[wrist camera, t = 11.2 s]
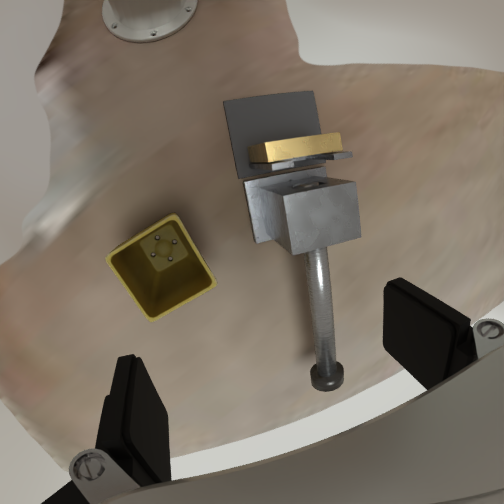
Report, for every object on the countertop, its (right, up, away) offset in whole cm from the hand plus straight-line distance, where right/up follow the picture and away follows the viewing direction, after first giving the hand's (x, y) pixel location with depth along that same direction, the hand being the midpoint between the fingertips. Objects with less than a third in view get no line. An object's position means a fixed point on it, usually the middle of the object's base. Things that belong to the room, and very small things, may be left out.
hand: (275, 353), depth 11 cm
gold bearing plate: (+3, +17, +28) cm, 32 cm away
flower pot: (-12, +4, +29) cm, 31 cm away
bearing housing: (+4, +10, +30) cm, 32 cm away
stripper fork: (+3, +15, +29) cm, 33 cm away
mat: (+2, +19, +27) cm, 33 cm away
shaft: (+7, -1, +30) cm, 30 cm away
